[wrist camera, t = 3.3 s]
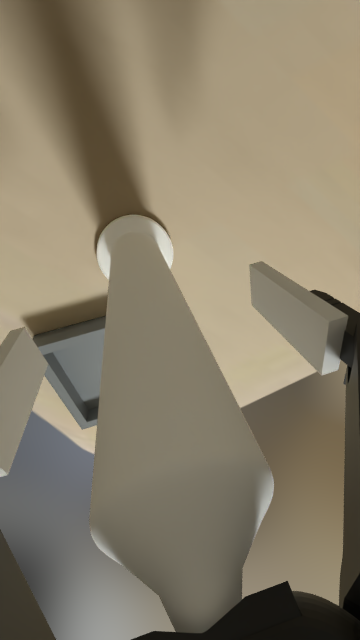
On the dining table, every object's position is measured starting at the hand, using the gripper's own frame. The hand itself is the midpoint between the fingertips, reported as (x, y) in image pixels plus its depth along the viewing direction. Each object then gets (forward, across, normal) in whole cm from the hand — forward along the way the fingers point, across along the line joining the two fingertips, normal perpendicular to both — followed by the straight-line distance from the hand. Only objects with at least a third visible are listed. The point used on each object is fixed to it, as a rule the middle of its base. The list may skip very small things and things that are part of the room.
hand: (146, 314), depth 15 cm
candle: (+12, 0, 0) cm, 12 cm away
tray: (+12, -6, -12) cm, 17 cm away
